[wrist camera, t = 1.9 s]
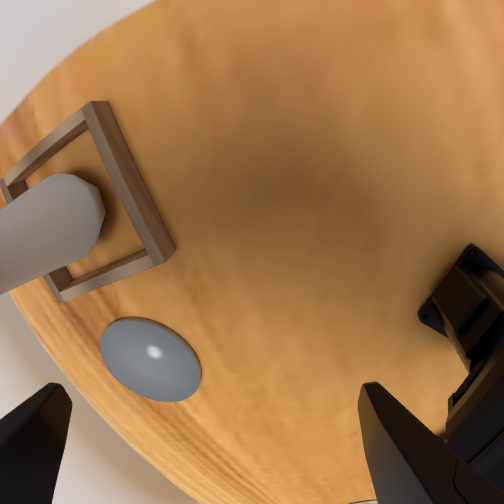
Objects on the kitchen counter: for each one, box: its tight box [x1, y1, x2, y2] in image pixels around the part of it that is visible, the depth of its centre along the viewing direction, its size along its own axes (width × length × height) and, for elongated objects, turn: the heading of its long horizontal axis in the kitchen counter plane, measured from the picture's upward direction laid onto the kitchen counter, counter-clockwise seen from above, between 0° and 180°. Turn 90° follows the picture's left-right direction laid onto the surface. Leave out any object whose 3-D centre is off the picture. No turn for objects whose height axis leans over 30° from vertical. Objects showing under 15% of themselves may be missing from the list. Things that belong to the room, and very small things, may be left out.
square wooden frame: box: [0, 101, 176, 304], centre depth 19 cm, size 11×11×2 cm
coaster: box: [100, 317, 202, 402], centre depth 24 cm, size 9×9×1 cm
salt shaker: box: [0, 173, 107, 295], centre depth 14 cm, size 6×6×13 cm
